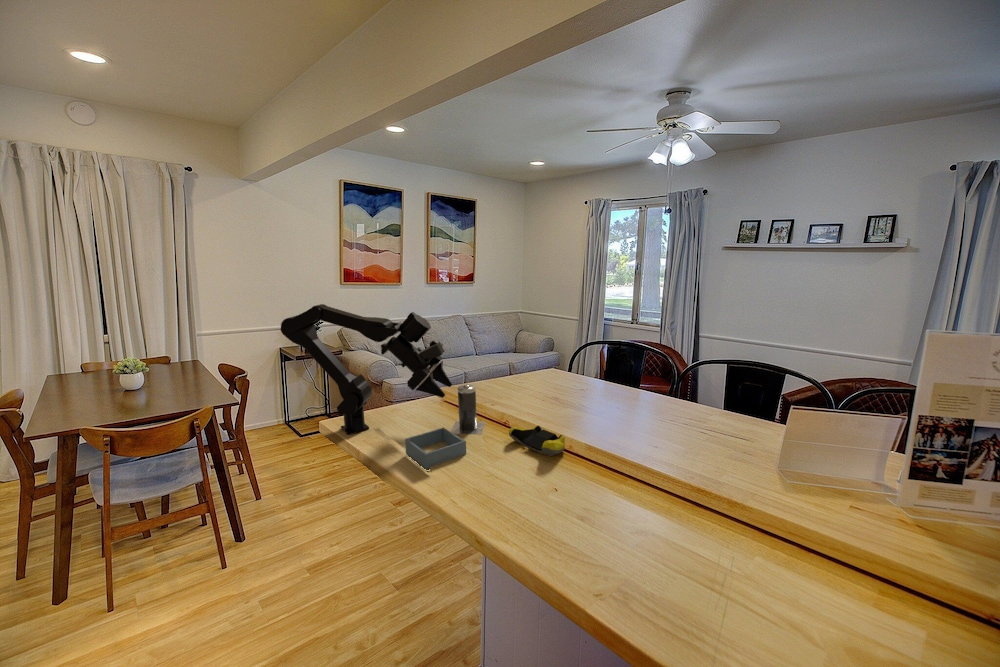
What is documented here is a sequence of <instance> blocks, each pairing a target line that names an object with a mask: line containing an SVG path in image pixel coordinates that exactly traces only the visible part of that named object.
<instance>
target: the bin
mask: <svg viewBox="0 0 1000 667" xmlns="http://www.w3.org/2000/svg"><path fill="white" fill-rule="evenodd" d="M440 442H445V443H446V444H448V445H447V446H443V447H441V448H437V449H434V450H432V451H428V452H426V451H425V450H423V449H422V448H424V447H428V446H430V445H431V446H432V445H434V444H437V443H440ZM404 445H405V455H406V454H407V455H408V456H409V457H411V458H412V459H413V460H414V461H416V462H417V463H418V464H419V465H420V466H422V467H423V468H424V469H426V470H429V469H431V468H430V467H434V466H436V465H439V464H442V463H445V462H448V461H450V460H453V459H456V458H459V457H462V456H464V455H467V441H466V440H465V439H464V438H462V437H460V436H458V434H453V433H452V432H451V430H449V429H446V428H445V427H441V428H436V429H433V430H430V431H427V432H424V433H421V434H416V435H413V436H410V437H407V438H405V440H404ZM407 455H406V456H407ZM408 456H407V457H408ZM409 457H408V458H409ZM412 459H411V460H412ZM413 460H412V461H413ZM414 461H413V462H414ZM417 463H416V464H417ZM418 464H417V465H418ZM419 465H418V466H419ZM420 466H419V467H420ZM423 468H422V469H423ZM424 469H423V470H424Z"/></svg>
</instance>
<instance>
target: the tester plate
mask: <svg viewBox="0 0 1000 667" xmlns="http://www.w3.org/2000/svg"><path fill="white" fill-rule="evenodd" d="M486 422H487V421H478V420H477V428H476V429H475V430H472V431H463V430H461V429H460V427H459V420H456V421H455V422H454V424H453V426H452V428H451V430H450V432H452V433H453V434H455V435H483V431H484V428H485V425H486Z"/></svg>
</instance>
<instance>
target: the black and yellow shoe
mask: <svg viewBox="0 0 1000 667" xmlns="http://www.w3.org/2000/svg"><path fill="white" fill-rule="evenodd" d="M542 428H543V427H542V426H541V425H535V426H533V427H532V428H530V429H528V428H524V427H520V426H512V427H509V431H508V435H509V437H510V438H511V439H513V440H514V442H516V443H519V444H521V445H522V446H524V447H526V448H527V449H529V450H532V451H535V452H537V453H539V454H541V455H542V454H543V455H546V456H549V457H551V456H554V455H560V454H561V453H563V452H564V451H565V449H566V448H565V446H566V443H565V442H566V441H565V438H566V435H565V434H560V435H559V436H558V435H557V434H556V433H553V432H551V431H549V430H546V429H542Z"/></svg>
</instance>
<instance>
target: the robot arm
mask: <svg viewBox="0 0 1000 667" xmlns="http://www.w3.org/2000/svg"><path fill="white" fill-rule="evenodd" d="M321 321H322V322H324V323H329V324H332V325H336V326H339V327H341V328H346V329H349V330H351V331H352V330H353V331H356V332H357V333H360V334H361V335H362V336H363V337H365V338H367V339H369V340H371V341H374V342H376V343H382V342H384V341H385V340H388V339H389V338H390V339H389V340H388V341H387V342H385V343H382V344H381V345H380V347H381V348H380V349H381V350H380V351H381V352H380V353H381V355H385V354H386V353H388V352H390V353H391V354H392V355H393V356H394V357H395V358H396V359H397V360H398V361H399V362H400V366H401V368H405V367H406V368H407V369H409V371H410V372H411V373H412V374H411V377H410V378H409V379H408V380H407V387H408V388H409V389H410V390H411V391H414V390H415V391H416V392H423V393H426V394H430V395H433V396H436V397H439V398H444V397H446V394H445V392H444V391H443V389H441V387H440V386H439V385H438V384H437V383H436V382H438V383H440V384H442V385H444V386H445V387H448V388H451V387H452V385H453V383H452V381H451V380H450V378H449V376H448V375H447V374H446V372H445V370H444V366H443V365H444V361H443V357H442V355H443V354H444V353H445V349H444V347H443V346H444V344H443V343H441V341H437V339H434V340H431V341H430V342H429V346H428V347H426V348H424V349H423V348H422V347H419V346H418V347H416V346H415V345H414V344H413V342H414V343H418V342H419V341H420V340H421V339H422V338H423V337H424V336H425V335H426V334H427V333H428V331H430V329H431V327H432V326H431V324H430V322H429V321H428V320H427V319H426V318H424V317H422V316H421V315H419V314H417V313H415V311H412V312H410V313H409V314H408V315H407V317H406V319H404V321H403V322H402V323H399V322H393V321H392V320H391V319H389V318H383V317H375V316H374V317H373V316H372V317H371V316H363V315H359V314H355V313H352V312H349V311H344V310H342V309H338V308H334V307H332V306H328V305H327V304H324V303H321V304H316V305H313V306H312V307H311V308H309V309H308V310H306V311H304V312H302V313H300V314H298V315H294V316H293V315H292V316H291V317H287V318H284V319H283V320H282V321H281V323H280V329H279V330H280V333H281V334H282V335H283V336H284V337H285V338H286V339H287V340H289V341H290V342H292V343H293V344H296V345H298V346H300V347H302V348H303V349H304V350H306V352H307V353H308V354H309V355H310V356H311V358H313V360H315V362H316V363H317V364H318V365H319V366H320V367H321V369H322V370H324V372H325V373H326V374H327V375H328V376H329V377H330V379H332V381H333V382H334V383H335V384H336V385H337V388H338V392H339V394H340V395H339V396H341V398H342V399H343V400H342V401H341V402H340V403H339V404H338V405H337V407H336V409H337V412H338V414H340V415H343V423H344V424H343V425H341V426H340V429H341V428H342V429H343V430H344V431H345V432H346V433H345V432H344V433H345V434H347V435H351V434H350V433H352V434H354V433H353V432H356V433H358V432H357V431H359V432H362V430H363V431H366V429H367V430H369V429H370V426H369V425H368V424H366V423H365V421H366V420H365V412H364V411H365V410H364V406H365V405H367V403H368V400H369V399H371V397H372V393H373V389H372V387H371V382H369V381H368V380H366V378H365V377H364V375H363V374H362V373H359V374H358V375H357V376H356V375H355V374H352V373H351V371H349V370H348V369H347V368H346V367H345V365H344V364H343V363H342V362H341V361H340V360H339V359H338V358H337V357H336V356H335V353H333V352H332V351H331V350H330V349H329V348H328V346H327V345H326V344H325V343H324V342H323V340H321V339H320V338H319V336H318V334H317V330H316V327H315V324H317V323H319V322H321ZM396 334H398V335H397V336H395V335H396ZM435 381H436V382H435ZM343 430H342V431H343Z"/></svg>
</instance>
